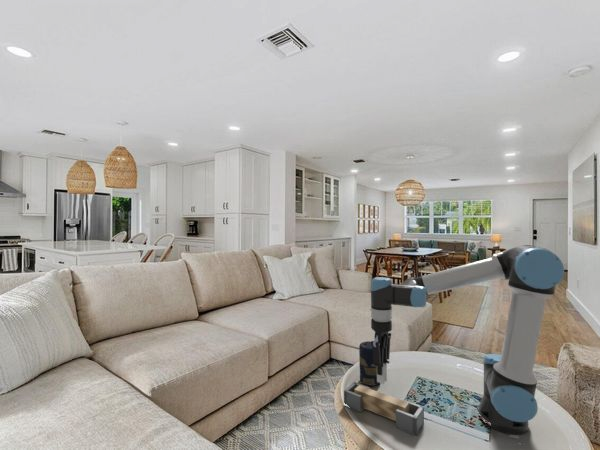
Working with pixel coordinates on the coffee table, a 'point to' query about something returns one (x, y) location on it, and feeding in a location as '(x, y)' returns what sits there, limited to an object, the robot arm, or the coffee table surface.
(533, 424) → the coffee table surface
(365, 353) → the canister
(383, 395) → the slat
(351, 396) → the endcap
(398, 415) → the endcap
